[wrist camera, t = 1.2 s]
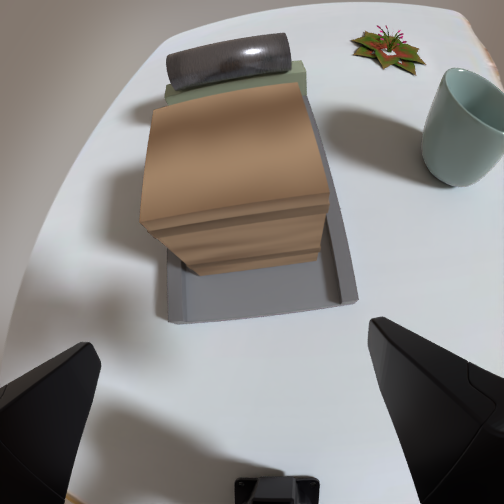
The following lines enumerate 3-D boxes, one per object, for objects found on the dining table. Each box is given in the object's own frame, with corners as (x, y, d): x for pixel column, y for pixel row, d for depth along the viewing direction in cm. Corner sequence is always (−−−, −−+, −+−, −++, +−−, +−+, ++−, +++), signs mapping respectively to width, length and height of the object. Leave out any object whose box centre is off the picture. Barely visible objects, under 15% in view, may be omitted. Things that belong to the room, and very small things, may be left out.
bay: (353, 303, 22) (388, 272, 13) (177, 324, 23) (116, 305, 15) (301, 90, 30) (297, 25, 21) (181, 110, 31) (154, 52, 23)
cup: (408, 181, 24) (446, 107, 15) (414, 127, 26) (439, 56, 17) (475, 209, 22) (528, 151, 13) (474, 152, 24) (511, 92, 15)
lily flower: (427, 51, 32) (433, 29, 27) (425, 88, 29) (433, 62, 24) (357, 28, 35) (358, 6, 31) (339, 60, 32) (340, 32, 28)
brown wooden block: (317, 260, 22) (332, 192, 13) (198, 276, 23) (137, 222, 14) (300, 172, 25) (298, 81, 15) (196, 188, 26) (152, 110, 16)
